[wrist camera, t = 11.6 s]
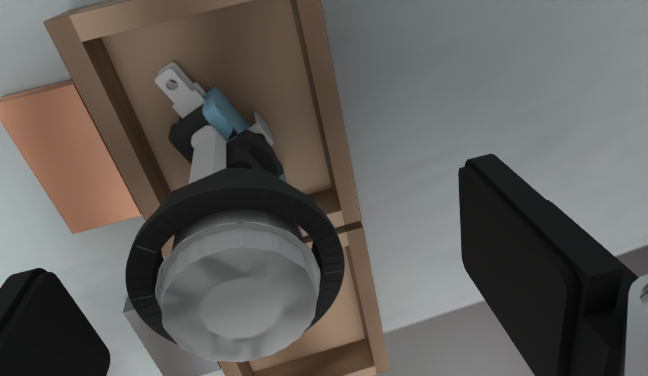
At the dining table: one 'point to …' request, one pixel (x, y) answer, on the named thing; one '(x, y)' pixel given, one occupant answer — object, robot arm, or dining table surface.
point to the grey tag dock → (314, 344)
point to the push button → (231, 239)
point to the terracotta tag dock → (156, 107)
